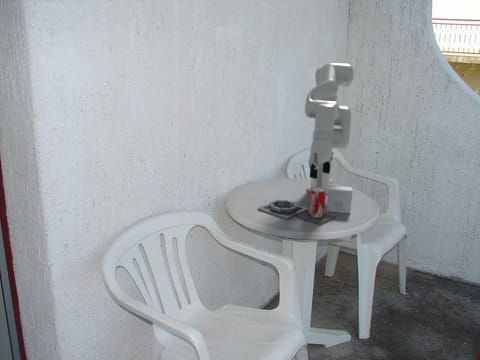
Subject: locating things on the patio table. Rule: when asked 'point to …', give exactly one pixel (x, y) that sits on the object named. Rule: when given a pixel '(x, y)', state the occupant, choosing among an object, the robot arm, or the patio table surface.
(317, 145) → the robot arm
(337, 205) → the skincare box
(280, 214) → the collar
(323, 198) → the soda can
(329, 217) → the mat
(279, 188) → the patio table surface
